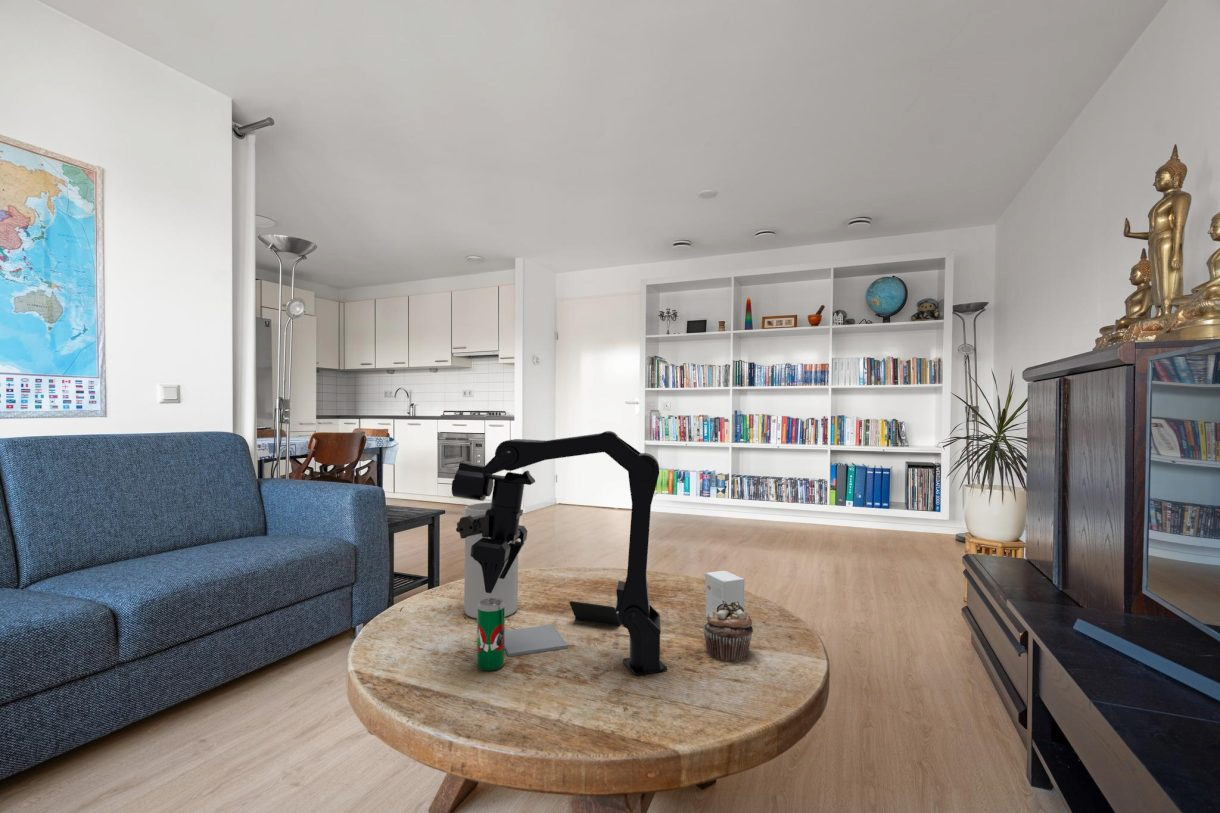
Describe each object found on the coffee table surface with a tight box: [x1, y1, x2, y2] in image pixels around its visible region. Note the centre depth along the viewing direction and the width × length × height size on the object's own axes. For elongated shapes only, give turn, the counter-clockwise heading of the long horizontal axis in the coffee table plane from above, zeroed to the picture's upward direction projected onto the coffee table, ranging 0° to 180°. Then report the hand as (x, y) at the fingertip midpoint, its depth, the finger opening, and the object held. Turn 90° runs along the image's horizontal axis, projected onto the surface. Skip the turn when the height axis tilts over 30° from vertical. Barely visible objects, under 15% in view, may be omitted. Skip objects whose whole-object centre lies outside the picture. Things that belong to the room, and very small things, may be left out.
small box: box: [704, 570, 746, 618], centre depth 130 cm, size 8×6×10 cm
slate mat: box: [504, 624, 569, 658], centre depth 117 cm, size 12×12×1 cm
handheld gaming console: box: [569, 600, 622, 627], centre depth 129 cm, size 12×7×10 cm
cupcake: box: [702, 601, 754, 662], centre depth 112 cm, size 10×10×10 cm
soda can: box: [476, 598, 506, 672], centre depth 106 cm, size 5×5×12 cm
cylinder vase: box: [463, 502, 519, 620], centre depth 135 cm, size 12×12×25 cm
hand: (495, 585), depth 108 cm, fingers open, 9 cm apart
